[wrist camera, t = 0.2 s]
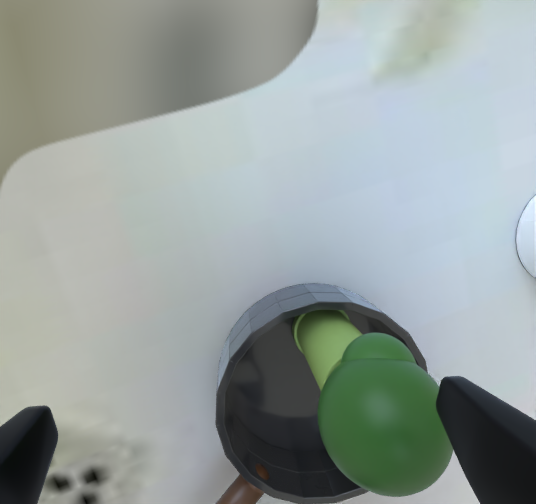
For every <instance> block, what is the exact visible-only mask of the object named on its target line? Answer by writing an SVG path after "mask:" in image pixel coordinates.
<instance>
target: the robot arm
mask: <svg viewBox="0 0 536 504" xmlns="http://www.w3.org/2000/svg"><path fill="white" fill-rule="evenodd" d="M436 410H437V413H438V415H439V418H440V420H441V422H442V424H443V427H444V429H445V431H446V433H447V436H448V438H449V440H450V442H451V445H452V447H453V449H454V451H455V454H456V456H457V458H458V460H459V463H460V465H461V467H462V469H463V471H464V474H465V476H466V478H467V480H468V482H469V484H470V485H471V487H472V489H473V491H474V493H475V495H476V497H477V498H478V500H479V502H480V504H536V420H534V419H532V418H531V417H529V416H527V415H526V414H524V413H522V412H521V411H519V410H517V409H516V408H514V407H512V406H511V405H509V404H507V403H506V402H504V401H502V400H501V399H499V398H497V397H496V396H494V395H492V394H491V393H489V392H487V391H486V390H484V389H482V388H480V387H479V386H477V385H475V384H474V383H472V382H470V381H469V380H467V379H465V378H464V377H461V376H451V377H444V378H443V379H442V381H441V384H440V388H439V392H438V395H437V399H436ZM57 441H58V431H57V428H56V425H55V422H54V419H53V416H52V412H51V410H50V408H49V407H48V406H32V407H27V408H25V409H23V410H22V411H20V412H19V413H18V414H16V415H15V416H14V417H12V418H11V419H10V420H9V421H7V422H6V423H5V424H3V425H2V426H1V427H0V504H37V503H38V500H39V497H40V494H41V491H42V488H43V485H44V482H45V479H46V476H47V473H48V470H49V466H50V463H51V460H52V457H53V454H54V451H55V448H56V445H57Z"/></svg>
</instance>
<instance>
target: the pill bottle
mask: <svg viewBox="0 0 536 504" xmlns="http://www.w3.org/2000/svg"><path fill="white" fill-rule="evenodd" d="M516 244H517V251H518V254H519V258H520V260H521V262H522V264H523V266H524V267H525V269H526V270H527V271H528V272H529V273H530V274H531V275H532V276H534V277H535V278H536V195H535V196H534V197H533V198H532V200H531V201H530V202H529V203H528V205H527V206H526V208H525V209H524V211H523V213H522V216H521V218H520V220H519V224H518V228H517V236H516Z"/></svg>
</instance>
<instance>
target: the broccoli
mask: <svg viewBox="0 0 536 504" xmlns="http://www.w3.org/2000/svg"><path fill="white" fill-rule="evenodd" d="M292 334H293V338H294V341H295V343H296V345H297V347H298V349H299V350H300V351H301V352H302V353H303V354H304V355H305V358H306V360H307V362H308V364H309V366H310V368H311V371H312V373H313V375H314V377H315V379H316V381H317V384H318V386H319V388H320V390H321V394H320V397H319V403H318V425H319V431H320V434H321V438H322V441H323V444H324V446H325V448H326V450H327V452H328V454H329V456H330V457H331V459H332V460H333V462H334V463H335V465H336V466H337V467H338V468H339V470H340V471H341V472H342V473H343V474H344V475H345V476H346V477H347V478H349V479H350V480H351V481H352V482H354V483H355V484H357V485H358V486H360V487H362V488H364V489H366V490H368V491H371V492H373V493H376V494H379V495H384V496H392V497H402V496H408V495H412V494H415V493H418V492H421V491H423V490H425V489H426V488H428V487H429V486H431V485H432V484H433V483H434V482H436V481H437V480H438V478H439V477H440V476H441V475H442V474H443V472H444V471H445V469H446V468H447V466H448V464H449V462H450V459H451V456H452V452H453V447H452V445H451V442H450V440H449V438H448V436H447V433H446V431H445V429H444V427H443V424H442V422H441V420H440V418H439V415H438V413H437V410H436V399H437V395H438V392H439V388H440V387H439V386H438V384H437V383H436V382H435V381H434V379H433V378H432V377H431V376H430V375H429V374H428V373H427V372H426V371H425V370H423V369H422V368H421V367H419V366H418V365H417V364H416V361H415V359H414V357H413V355H412V353H411V352H410V350H409V349H408V348H407V347H406V346H405V345H404V344H403V343H402V342H401V341H399V340H398V339H396V338H395V337H393V336H390V335H387V334H384V333H367V334H364V335H363V334H362V333H361V332H360V331H359V330H358V329H357V328H356V327H355V326H354V325H353V324H352V323H351V322H350V319H349V317H348V315H347V314H346V313H345V312H344V311H343V310H316V311H312V312H309V313H306V314H302V315H299V316H295V318H294V321H293V325H292Z"/></svg>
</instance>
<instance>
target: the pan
mask: <svg viewBox="0 0 536 504" xmlns="http://www.w3.org/2000/svg"><path fill="white" fill-rule="evenodd" d="M316 310H343V311H344V312H345V313H346V314H347V315H348V317H349V319H350V322H351V323H352V324H353V325H354V326H355V327H356V328H357V329H358V330H359V331H360V332H361V333H362V334H363V335H364V334H367V333H384V334H387V335H390V336H393V337H395V338H396V339H398V340H399V341H401V342H402V343H403V344H404V345H405V346H406V347H407V348H408V349H409V350H410V352H411V353H412V355H413V357H414V359H415V361H416V364H417V365H418V366H419V367H421V368H422V369H423V370H425V371H426V372H427V367H426V362H425V359H424V357H423V356H422V354H421V352H420V351H419V349H418V347H417V346H416V344H415V342H414V341H413V339H412V337H411V336H410V334H409V333H408V332H407V331H405V330H404V329H403V328H402V327H400V326H399V325H398V324H397V323H396V322H394V321H393V320H392V319H391V318H389V317H388V316H387V315H386V314H384V313H383V312H382V311H380V310H379V309H378V308H376V307H375V306H374V305H372V304H371V303H370V302H368V301H367V300H366V299H364V298H363V297H362V296H360V295H358V294H355V293H353V292H351V291H349V290H346V289H344V288H341V287H338V286H333V285H328V284H317V283H311V284H300V285H295V286H290V287H287V288H284V289H281V290H278V291H276V292H274V293H272V294H270V295H267V296H266V297H264V298H263V299H261V300H260V301H258V302H257V303H255V304H254V305H253V306H252V307H251V308H249V309H248V310H247V311H246V312H245V313H244V314H243V316H242V317H241V318H240V319H239V320H238V321H237V323H236V324H235V326H234V327H233V329H232V330H231V332H230V334H229V336H228V338H227V340H226V343H225V345H224V348H223V351H222V355H221V358H220V361H219V371H218V383H217V397H216V428H217V431H218V434H219V437H220V440H221V443H222V446H223V449H224V452H225V455H226V457H227V458H228V459H229V460H230V462H231V463H232V464H233V466H234V467H235V468H236V469H237V471H238V472H239V473H240V474H241V476H242V477H243V478H244V479H245V480H246V481H247V482H249V483H250V484H252V485H254V486H255V487H257V488H258V489H260V490H261V491H263V492H265V493H266V494H268V495H269V496H272V497H274V498H278V499H282V500H286V501H290V502H294V503H298V504H330V503H337V502H340V501H343V500H346V499H349V498H352V497H355V496H358V495H361V494H364V493H365V492H368V490H366V489H364V488H362V487H360V486H358V485H357V484H355V483H354V482H352V481H351V480H350V479H349V478H347V477H346V476H345V475H344V474H343V473H342V472H341V471H340V470H339V468H338V467H337V466H336V465H335V463H334V462H333V460H332V459H331V457H330V456H329V454H328V452H327V450H326V448H325V446H324V444H323V441H322V438H321V434H320V431H319V425H318V403H319V397H320V394H321V390H320V388H319V386H318V384H317V381H316V379H315V377H314V375H313V373H312V371H311V368H310V366H309V364H308V362H307V360H306V358H305V355H304V354H303V353H302V352H301V351H300V350H299V349H298V347H297V345H296V343H295V341H294V338H293V334H292V325H293V321H294V318H295V316H299V315H302V314H306V313H309V312H312V311H316ZM427 373H428V372H427ZM257 463H259V464H262V465H263V466H264V467H265V468H266V469H267V471H268V473H269V479H268V480H265V479H263V478H262V477H261V476H260V475H259V474H258V473H257V471H256V468H255V465H256V464H257Z"/></svg>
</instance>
